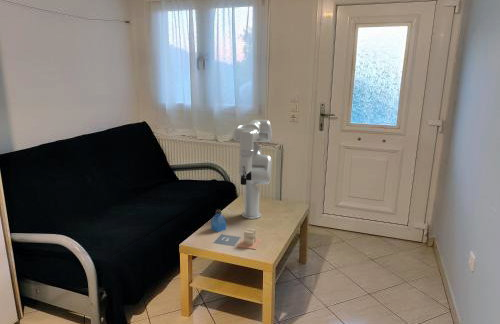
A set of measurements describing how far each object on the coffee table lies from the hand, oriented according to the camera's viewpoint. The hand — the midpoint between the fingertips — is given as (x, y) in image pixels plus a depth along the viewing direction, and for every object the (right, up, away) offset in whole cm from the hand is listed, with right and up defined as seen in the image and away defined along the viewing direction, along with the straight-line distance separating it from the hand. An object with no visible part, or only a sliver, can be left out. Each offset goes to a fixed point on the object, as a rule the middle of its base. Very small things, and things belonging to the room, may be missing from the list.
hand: (246, 182), depth 204 cm
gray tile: (-10, -32, -4) cm, 34 cm away
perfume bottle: (-16, -29, +10) cm, 35 cm away
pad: (+2, -33, -8) cm, 34 cm away
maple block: (+2, -32, -8) cm, 34 cm away
